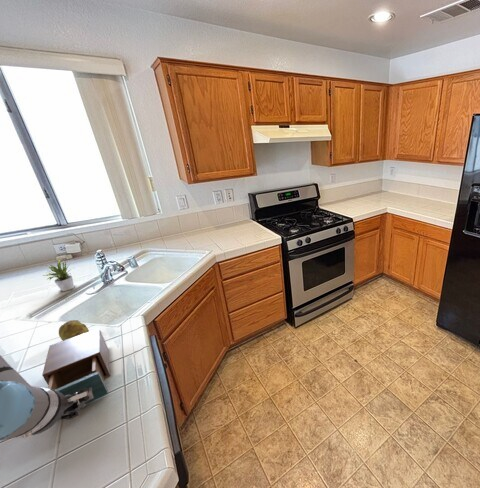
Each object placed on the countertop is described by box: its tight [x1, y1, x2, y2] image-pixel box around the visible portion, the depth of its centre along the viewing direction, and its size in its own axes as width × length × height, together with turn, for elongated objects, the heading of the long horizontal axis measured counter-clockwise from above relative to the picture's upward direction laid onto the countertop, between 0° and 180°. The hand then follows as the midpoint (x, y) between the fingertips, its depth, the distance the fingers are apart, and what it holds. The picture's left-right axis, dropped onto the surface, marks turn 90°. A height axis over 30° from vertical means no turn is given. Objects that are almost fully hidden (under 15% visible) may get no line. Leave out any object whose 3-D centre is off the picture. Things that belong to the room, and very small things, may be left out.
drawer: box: [47, 356, 109, 406], centre depth 75 cm, size 19×11×8 cm, turn 40°
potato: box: [58, 319, 90, 341], centre depth 98 cm, size 8×13×8 cm, turn 45°
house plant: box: [37, 259, 75, 292], centre depth 139 cm, size 14×14×16 cm
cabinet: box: [41, 327, 111, 385], centre depth 84 cm, size 16×13×10 cm
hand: (73, 411), depth 65 cm, fingers closed
